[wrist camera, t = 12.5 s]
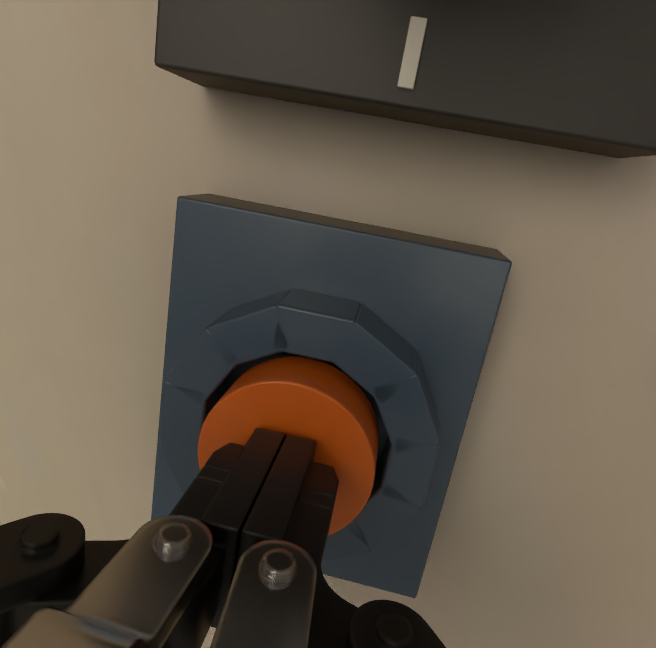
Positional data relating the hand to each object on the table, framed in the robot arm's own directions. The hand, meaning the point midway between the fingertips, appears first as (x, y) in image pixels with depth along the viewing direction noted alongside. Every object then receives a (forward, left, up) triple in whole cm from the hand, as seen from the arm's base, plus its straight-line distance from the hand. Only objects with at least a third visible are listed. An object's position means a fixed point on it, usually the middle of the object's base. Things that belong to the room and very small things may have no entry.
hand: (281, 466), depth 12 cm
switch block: (0, 0, -5) cm, 5 cm away
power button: (0, 0, -2) cm, 2 cm away
